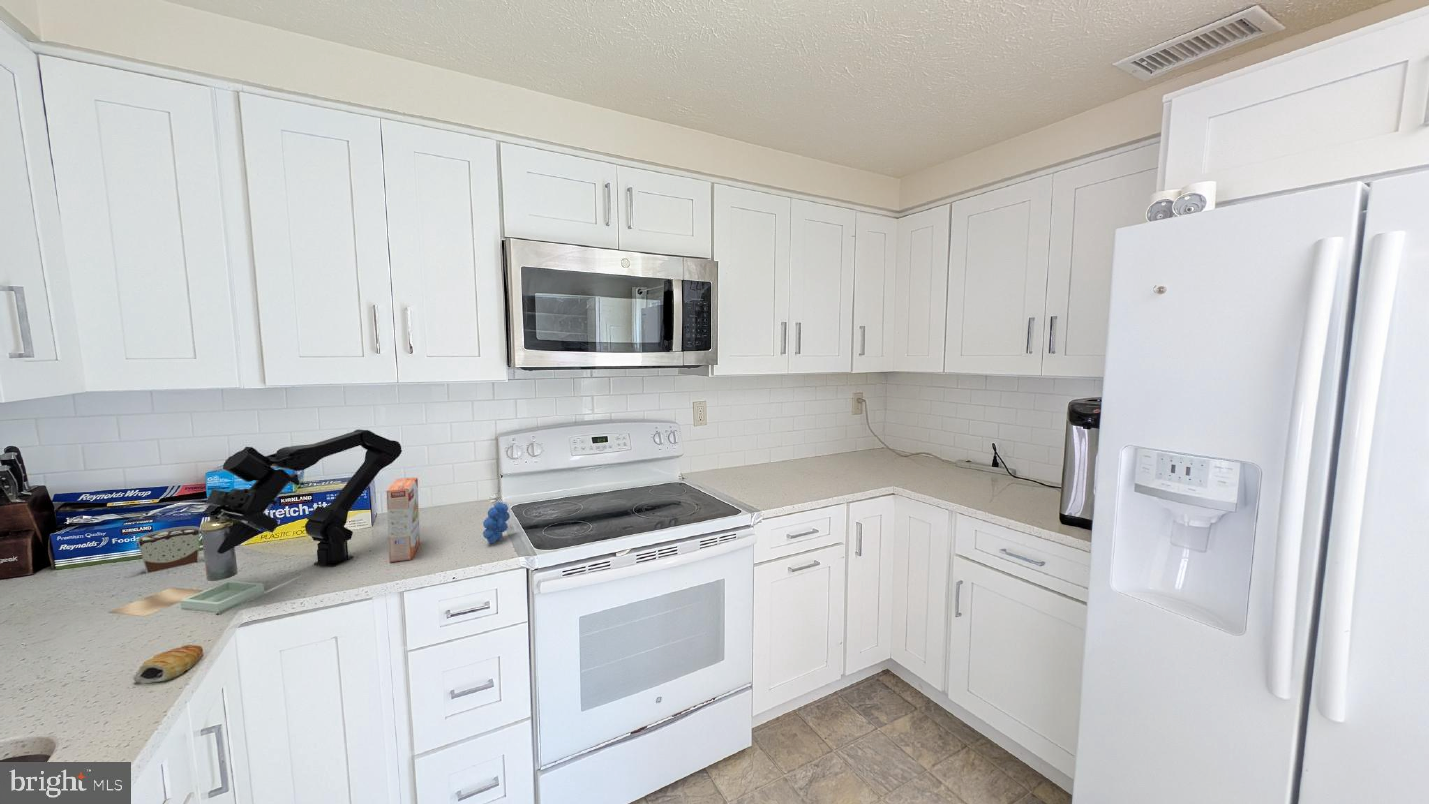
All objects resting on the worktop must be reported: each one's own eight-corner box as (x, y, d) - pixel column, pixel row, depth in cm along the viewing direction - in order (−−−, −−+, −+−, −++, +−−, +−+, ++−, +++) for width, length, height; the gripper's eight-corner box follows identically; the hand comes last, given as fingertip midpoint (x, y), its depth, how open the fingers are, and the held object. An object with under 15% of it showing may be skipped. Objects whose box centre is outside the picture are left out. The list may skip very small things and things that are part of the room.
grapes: (496, 533, 164) (495, 497, 163) (515, 534, 163) (514, 498, 162) (472, 546, 153) (471, 508, 152) (492, 548, 152) (490, 509, 151)
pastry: (177, 655, 99) (175, 636, 98) (216, 652, 100) (214, 634, 99) (129, 686, 89) (127, 666, 89) (173, 683, 90) (171, 663, 90)
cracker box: (413, 560, 143) (409, 488, 141) (388, 563, 141) (384, 490, 139) (421, 542, 156) (418, 476, 154) (399, 545, 154) (395, 478, 151)
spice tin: (216, 572, 120) (210, 519, 119) (243, 569, 121) (238, 517, 120) (199, 582, 115) (193, 527, 113) (228, 579, 116) (222, 525, 115)
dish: (229, 590, 124) (228, 580, 124) (264, 593, 123) (263, 583, 123) (181, 611, 115) (180, 600, 114) (218, 614, 113) (217, 604, 113)
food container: (202, 556, 144) (199, 522, 143) (205, 562, 140) (202, 527, 139) (137, 570, 135) (133, 534, 134) (138, 577, 131) (134, 540, 130)
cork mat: (172, 589, 124) (172, 587, 124) (206, 592, 123) (206, 590, 123) (107, 614, 113) (107, 612, 113) (144, 618, 111) (144, 616, 111)
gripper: (210, 470, 122) (152, 530, 113) (258, 478, 116) (200, 542, 107) (252, 493, 131) (201, 550, 122) (299, 502, 124) (249, 562, 115)
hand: (212, 551), depth 116 cm, fingers closed on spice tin, 5 cm apart
